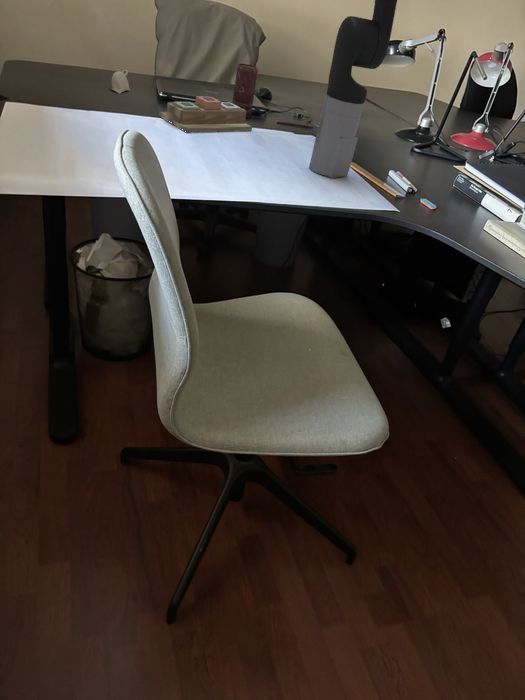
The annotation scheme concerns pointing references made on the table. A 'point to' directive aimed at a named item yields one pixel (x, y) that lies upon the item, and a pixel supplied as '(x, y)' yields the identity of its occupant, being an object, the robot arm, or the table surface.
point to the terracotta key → (208, 103)
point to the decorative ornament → (120, 81)
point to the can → (245, 87)
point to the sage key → (186, 106)
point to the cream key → (229, 106)
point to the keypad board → (206, 119)
